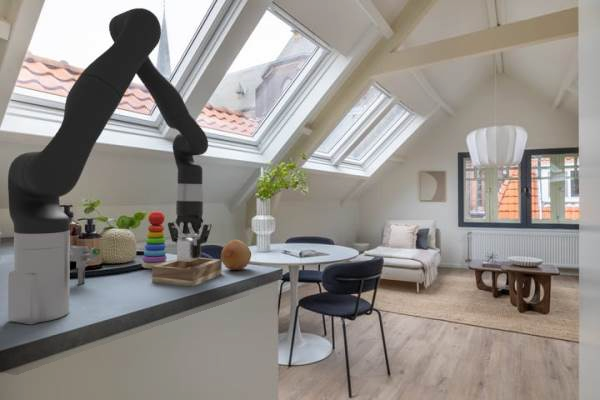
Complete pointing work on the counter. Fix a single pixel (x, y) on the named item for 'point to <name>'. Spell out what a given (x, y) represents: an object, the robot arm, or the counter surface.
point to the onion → (236, 255)
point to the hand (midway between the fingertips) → (189, 256)
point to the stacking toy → (155, 241)
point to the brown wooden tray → (186, 271)
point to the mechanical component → (83, 259)
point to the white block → (186, 250)
